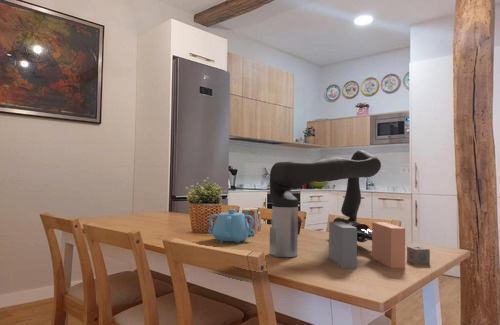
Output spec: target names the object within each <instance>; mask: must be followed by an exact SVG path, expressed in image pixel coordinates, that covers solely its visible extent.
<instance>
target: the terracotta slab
mask: <svg viewBox="0 0 500 325" xmlns="http://www.w3.org/2000/svg"><path fill="white" fill-rule="evenodd" d="M371 226H372V227H371V231H372V241H371V258H372V259H374V260H376V261H378V262H379V263H381V264H383V265H385V266H386V267H388V268H390V269H406V228H405V227H403V226H402V227H401V226H399V225H396V224H392V223H389V222H387V221H383V222H382V221H372V223H371Z"/></svg>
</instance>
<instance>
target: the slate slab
mask: <svg viewBox="0 0 500 325" xmlns="http://www.w3.org/2000/svg"><path fill="white" fill-rule="evenodd" d="M328 226H329V227H328V229H329V230H328V259H330V260H332V261H333V262H334V263H336V265H337V266H339V267H341V269H357V266H358V241H357V228H356V227H353V226H351V225H349V224H346V223H344V222H333V221H329V222H328Z"/></svg>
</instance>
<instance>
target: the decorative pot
mask: <svg viewBox="0 0 500 325" xmlns="http://www.w3.org/2000/svg"><path fill="white" fill-rule="evenodd" d="M227 211H228V212H219V213H218V214H217V213H214V214H211V215H210V217H209V219H208V220H209V224H210V227H209V228H208V234H210V235H212V237H213V238H214V239H215V240H216V241H219V243H226V242H233V243H235V244H240V243H241V242H242V241H246V240H247V238H248V237H252V236H251V235H254V230H253V229H251V228H252V226H253V222H254V220H253V218H252V217H251V216H250V215H244V214H243V213H242V212H236V208H228V209H227ZM214 217H216V219H215V221H214V224H213V218H214ZM246 217H249V218H250V219H251V224H250V227H249V226H248V222H247V220H246ZM250 231H252V233H250ZM248 235H250V236H248Z"/></svg>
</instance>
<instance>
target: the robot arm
mask: <svg viewBox="0 0 500 325" xmlns="http://www.w3.org/2000/svg"><path fill="white" fill-rule="evenodd" d="M381 167H382V163H381V160H380V159H379V158H378V157H377V156H375V155H373V154H371V153H369V152H367V151H365V150H363V149H360V150H357V151H355V152H354V153H353V155H352V156H351V159H349V158H345V157H340V156H329V157H323V158H322V157H321V158H319V159H316V160H314V161H311V162H304V161H303V162H302V161H301V162H299V161H278V162H275V163H274V164H273V165H272V167H271V169H270V173H269V194H270V195H269V196H270V199H271V204H272V207H271V208H272V211H271V212H272V214H271V220H272V221H271V226H270V227H269V255H272V256H274V257H276V258H280V257H281V258H294V257H297V256H298V253H299V252H298V250H299V248H298V242H299V240H298V238H299V236H298V216H299V199H298V198H297V197H296V196H294V194H293V193H292V188H296V187H300V186H303V185H307V184H311V183H326V182H335V181H339V180H345V179H347V184H346V192H345V195H344V199H343V202H342V204H341V205H342V206H341V209H340V210H341V211H340V212H341V214H342V215H343V216H345V217H341V216H340V217H336V218H334V220H332V222H344V223H346V224H349V225H351V226H353V227H356V228H357V243H358V242H359V243H365V242H367V241H371V242H372V229H371V228H370V227H369V225H367V224H366V223H363V222H360V221H357V218H358V211H359V209H360V205H361V202H362V193H361V188H360V187H361V186H360V178H370V177H374V176H375V175H377V174H378V173H379V172H380V170H381Z"/></svg>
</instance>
